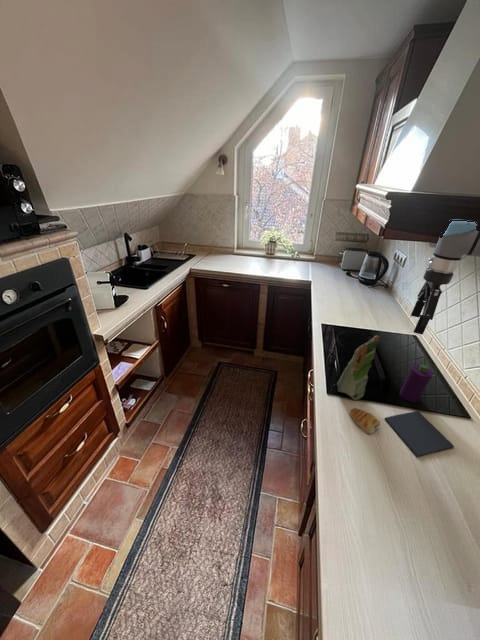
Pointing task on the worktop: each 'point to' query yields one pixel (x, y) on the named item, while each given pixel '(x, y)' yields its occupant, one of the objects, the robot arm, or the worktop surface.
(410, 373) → the aubergine
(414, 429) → the mat
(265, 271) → the worktop surface
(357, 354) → the pouch
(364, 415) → the pastry
